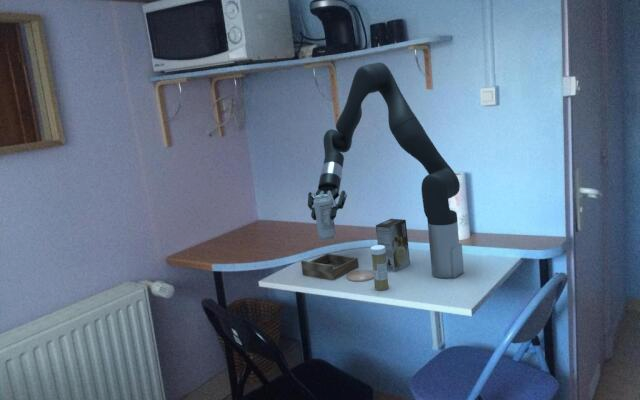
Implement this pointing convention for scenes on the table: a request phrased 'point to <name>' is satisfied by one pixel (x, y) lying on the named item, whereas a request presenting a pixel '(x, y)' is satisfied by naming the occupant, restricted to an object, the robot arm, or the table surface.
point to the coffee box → (394, 243)
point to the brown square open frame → (329, 266)
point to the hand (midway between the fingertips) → (322, 218)
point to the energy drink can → (324, 217)
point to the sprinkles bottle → (379, 267)
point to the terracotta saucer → (360, 275)
